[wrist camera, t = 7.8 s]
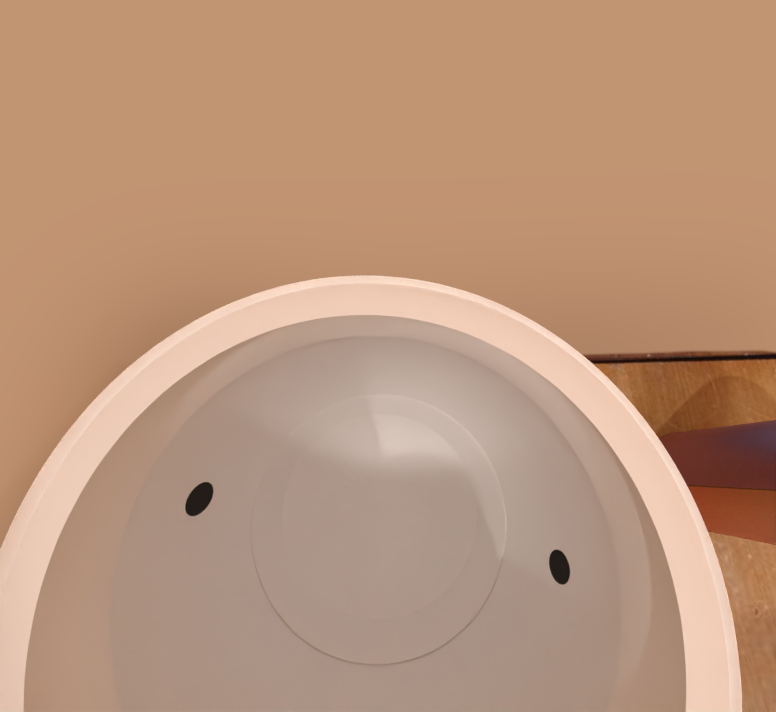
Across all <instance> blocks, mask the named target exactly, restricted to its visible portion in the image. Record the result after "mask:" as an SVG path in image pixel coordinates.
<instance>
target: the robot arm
mask: <svg viewBox="0 0 776 712" xmlns="http://www.w3.org/2000/svg"><path fill="white" fill-rule="evenodd" d="M212 497H213V486H212V484H211V483H209V482H203V483H201V484H199V485H197V486H196V487H195V488H194V489H193V490H192V491H191V493H190V494H189V496H188V498H187V501H186V504H185V510H186V513H187V514H188V515H189V516H197V515H199V514H200V513H202V512H203V511H204V510H205V509H206V508H207V506H208V505H209V503H210V502H211V499H212ZM549 567H550V571H551V574H552V576H553V578H554V579H555V581H556V582H557V583H559V584H561V585H563V584H566V583H567V582H568V580H569V577H570V567H569V563H568V560H567V558H566V556H565V555H564V553H563V552H561V551H560V550H553V551H552V552H551V554H550V558H549Z"/></svg>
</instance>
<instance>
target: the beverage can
mask: <svg viewBox="0 0 776 712" xmlns="http://www.w3.org/2000/svg"><path fill="white" fill-rule="evenodd" d="M659 440H660V441H661V443H662V444H663V446H664V447H665V449H666V450H667V452H668V453H669V455H670V457H671V458H672V460H673V462H674V463H675V465H676V467H677V468H678V470H679V472H680V474H681V475H682V477H683V479H684V481H685V483H686V485H687V487H688V489H689V491H690V493H691V495H692V497H693V499H694V501H695V503H696V505H697V507H698V509H699V512H700V514H701V516H702V519H703V521H704V523H705V526H706V528H707V531H709V532H714V533H719V534H724V535H729V536H734V537H739V538H744V539H749V540H754V541H759V542H764V543H769V544H774V545H776V420H773V421H765V422H757V423H749V424H741V425H733V426H725V427H717V428H710V429H702V430H694V431H686V432H678V433H671V434H667V435H664V436H662V437H660V438H659Z"/></svg>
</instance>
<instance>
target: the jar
mask: <svg viewBox="0 0 776 712" xmlns="http://www.w3.org/2000/svg"><path fill="white" fill-rule="evenodd" d="M203 482H209V483H211V484H212V486H213V497H212V499H211V502H210V503H209V505H208V506H207V508H206V509H205V510H204V511H203V512H202V513H200V514H199V515H197V516H189V515H188V514H187V513H186V510H185V504H186V501H187V498H188V496H189V494H190V493H191V491H192V490H193V489H194V488H195V487H196V486H197V485H199V484H201V483H203ZM553 550H560V551H561V552H563V553H564V555H565V556H566V558H567V560H568V563H569V567H570V577H569V580H568V582H567V583H566V584H563V585H561V584H559V583H557V582H556V581H555V579H554V578H553V576H552V574H551V571H550V567H549V558H550V554H551V552H552V551H553ZM0 712H742V692H741V676H740V665H739V656H738V648H737V641H736V634H735V628H734V623H733V617H732V612H731V608H730V603H729V599H728V594H727V590H726V586H725V583H724V579H723V575H722V572H721V569H720V565H719V562H718V559H717V556H716V553H715V550H714V547H713V544H712V542H711V539H710V536H709V533H708V531H707V528H706V526H705V523H704V521H703V519H702V516H701V514H700V512H699V509H698V507H697V505H696V503H695V501H694V499H693V497H692V495H691V493H690V491H689V489H688V487H687V485H686V483H685V481H684V479H683V477H682V475H681V474H680V472H679V470H678V468H677V467H676V465H675V463H674V462H673V460H672V458H671V457H670V455H669V453H668V452H667V450H666V449H665V447H664V446H663V444H662V443H661V441H660V440H659V438H658V437H657V435H656V434H655V433H654V431H653V430H652V428H651V427H650V426H649V424H648V423H647V422H646V420H645V419H644V418H643V417H642V415H641V414H640V413H639V412H638V410H637V409H636V408H635V407H634V406H633V404H632V403H631V402H630V401H629V400H628V399H627V398H626V396H625V395H624V394H623V393H622V392H621V391H620V390H619V389H618V388H617V387H616V386H615V385H614V384H613V383H612V382H611V381H610V380H609V379H608V378H607V377H606V376H605V375H604V374H603V373H602V372H601V371H600V370H599V369H598V368H597V367H596V366H595V365H593V364H592V363H591V362H590V361H589V360H588V359H586V358H585V357H584V356H583V355H582V354H580V353H579V352H578V351H576V350H575V349H574V348H573V347H571V346H570V345H569V344H567V343H566V342H564V341H563V340H562V339H560V338H559V337H557V336H556V335H555V334H553V333H552V332H550V331H549V330H547V329H545V328H544V327H542V326H541V325H539V324H537V323H536V322H534V321H532V320H530V319H528V318H527V317H525V316H523V315H521V314H519V313H517V312H515V311H513V310H511V309H509V308H507V307H505V306H503V305H500V304H498V303H496V302H494V301H491V300H489V299H486V298H484V297H481V296H478V295H475V294H472V293H469V292H466V291H463V290H460V289H456V288H453V287H449V286H445V285H441V284H437V283H432V282H427V281H422V280H415V279H408V278H400V277H389V276H340V277H330V278H321V279H314V280H308V281H303V282H297V283H293V284H288V285H284V286H280V287H276V288H273V289H269V290H266V291H262V292H259V293H256V294H254V295H251V296H248V297H245V298H242V299H240V300H237V301H235V302H232V303H230V304H228V305H225V306H223V307H221V308H219V309H217V310H215V311H213V312H210V313H208V314H207V315H204V316H203V317H201V318H199V319H197V320H195V321H193V322H192V323H190V324H188V325H186V326H185V327H183V328H182V329H180V330H178V331H177V332H175V333H173V334H172V335H170V336H169V337H167V338H166V339H164V340H163V341H162V342H160V343H159V344H157V345H156V346H154V347H153V348H152V349H150V350H149V351H148V352H147V353H145V354H144V355H143V356H142V357H140V358H139V359H138V360H136V361H135V362H134V363H133V364H131V365H130V366H129V367H128V368H127V369H126V370H124V371H123V372H122V373H121V374H120V375H119V376H118V377H117V378H116V379H115V380H114V381H113V382H112V383H110V384H109V386H107V387H106V388H105V389H104V390H103V391H102V393H100V395H99V396H98V397H97V398H96V399H95V400H94V401H93V402H92V403H91V404H90V405H89V406H88V407H87V409H86V410H85V411H84V412H83V413H82V414H81V415H80V417H79V418H78V419H77V420H76V421H75V423H74V424H73V425H72V426H71V428H70V429H69V430H68V431H67V433H66V434H65V435H64V437H63V438H62V439H61V441H60V442H59V443H58V445H57V446H56V448H55V449H54V450H53V452H52V453H51V455H50V456H49V458H48V459H47V461H46V462H45V464H44V465H43V467H42V469H41V470H40V472H39V473H38V475H37V477H36V478H35V480H34V482H33V483H32V485H31V487H30V489H29V490H28V492H27V494H26V496H25V498H24V500H23V501H22V503H21V505H20V507H19V509H18V511H17V513H16V515H15V517H14V519H13V522H12V524H11V526H10V528H9V530H8V532H7V535H6V537H5V539H4V542H3V544H2V547H1V549H0Z"/></svg>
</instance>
